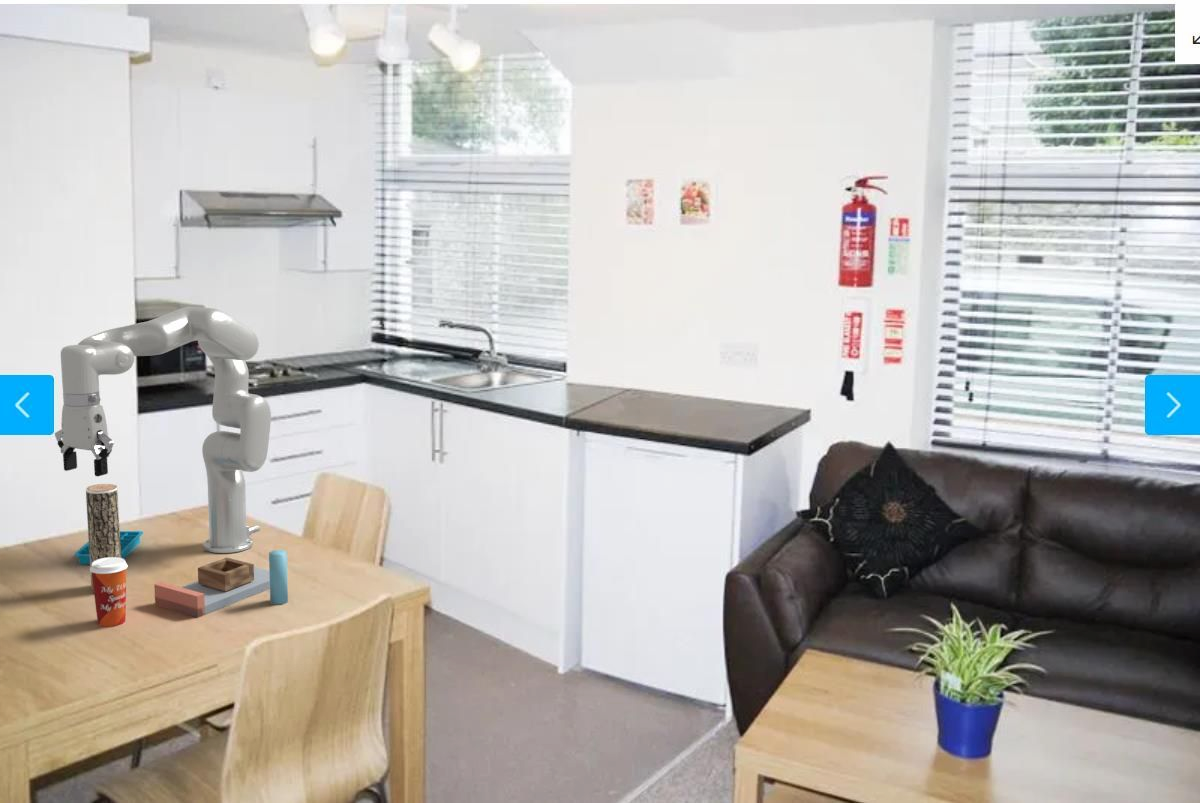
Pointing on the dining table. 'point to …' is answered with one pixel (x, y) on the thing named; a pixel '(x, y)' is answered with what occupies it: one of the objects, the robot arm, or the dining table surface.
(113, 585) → the paper cup
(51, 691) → the dining table surface
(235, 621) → the dining table surface
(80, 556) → the ice cube tray
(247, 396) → the robot arm
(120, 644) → the dining table surface
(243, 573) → the square wooden tray
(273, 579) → the dowel
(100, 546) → the bark log
